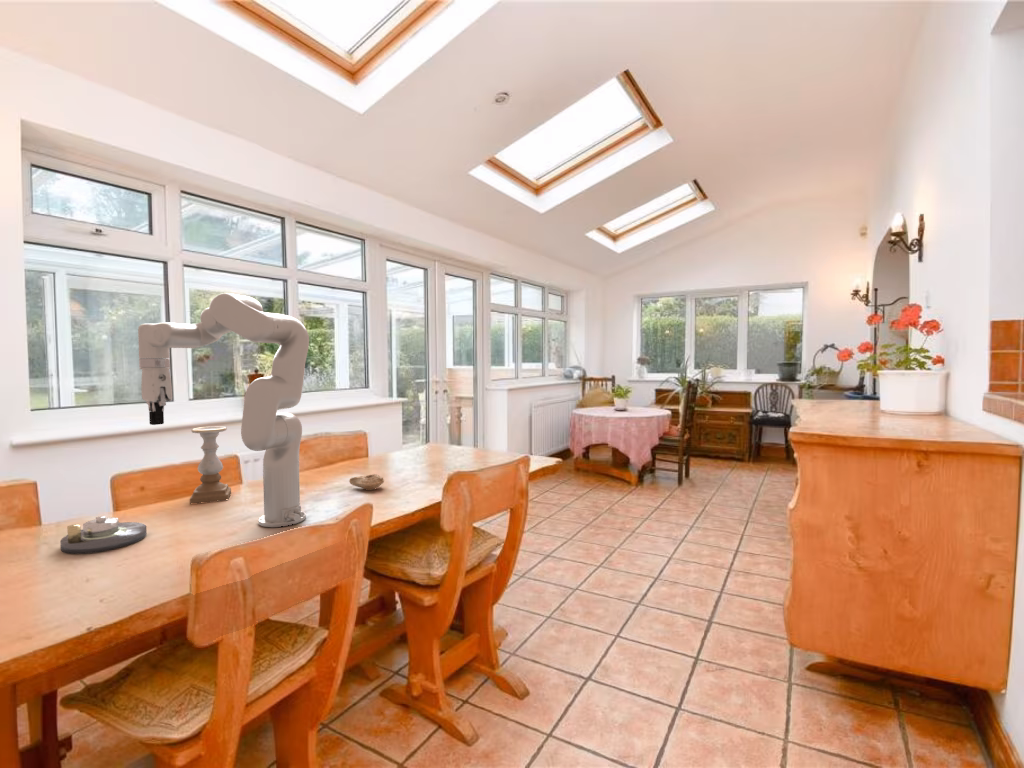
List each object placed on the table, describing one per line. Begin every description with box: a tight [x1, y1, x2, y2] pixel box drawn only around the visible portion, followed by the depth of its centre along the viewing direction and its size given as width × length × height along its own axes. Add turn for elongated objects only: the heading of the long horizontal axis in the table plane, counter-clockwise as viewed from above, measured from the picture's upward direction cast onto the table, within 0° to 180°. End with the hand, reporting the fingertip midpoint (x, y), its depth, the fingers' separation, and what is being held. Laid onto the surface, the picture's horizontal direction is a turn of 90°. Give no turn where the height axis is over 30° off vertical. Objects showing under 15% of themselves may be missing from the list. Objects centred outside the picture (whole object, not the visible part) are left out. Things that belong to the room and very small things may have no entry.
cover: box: [82, 515, 120, 538], centre depth 126 cm, size 7×7×4 cm
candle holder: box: [189, 425, 232, 505], centre depth 166 cm, size 11×11×24 cm
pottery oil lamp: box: [348, 473, 385, 491], centre depth 179 cm, size 9×12×7 cm
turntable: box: [60, 521, 147, 555], centre depth 126 cm, size 17×17×6 cm
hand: (156, 424), depth 151 cm, fingers closed
